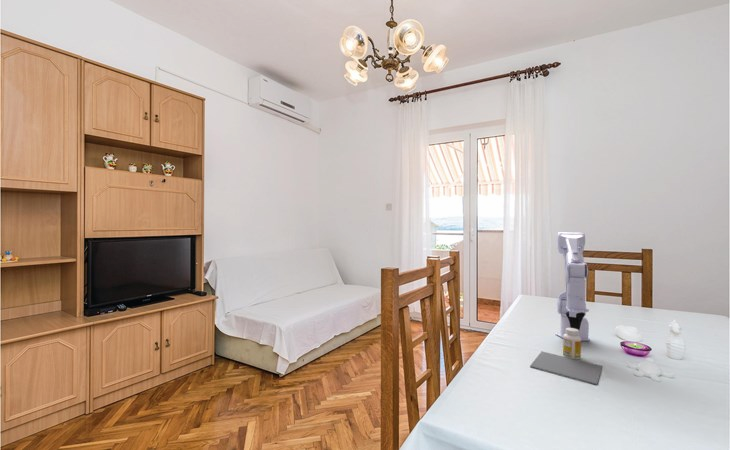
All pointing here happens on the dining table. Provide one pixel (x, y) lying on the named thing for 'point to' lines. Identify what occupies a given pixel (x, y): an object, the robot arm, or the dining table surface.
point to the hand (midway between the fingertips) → (575, 332)
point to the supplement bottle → (572, 344)
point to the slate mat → (568, 367)
